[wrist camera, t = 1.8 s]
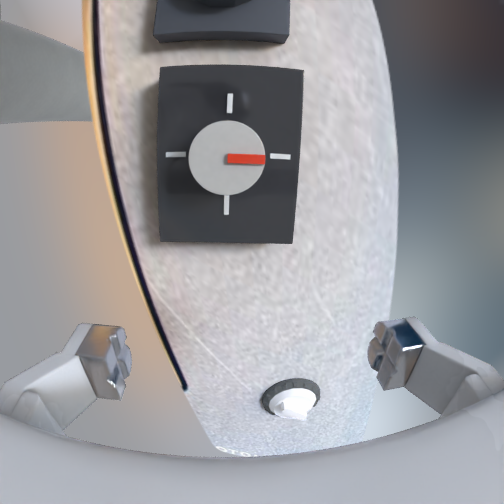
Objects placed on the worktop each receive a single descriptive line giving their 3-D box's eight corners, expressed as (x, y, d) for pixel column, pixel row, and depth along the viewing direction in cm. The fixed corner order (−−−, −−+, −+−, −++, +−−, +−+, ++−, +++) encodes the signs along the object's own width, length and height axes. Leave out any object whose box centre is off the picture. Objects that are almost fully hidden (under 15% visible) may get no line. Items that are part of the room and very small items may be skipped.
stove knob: (291, 419, 35) (294, 435, 33) (250, 402, 33) (251, 420, 31) (331, 390, 34) (336, 407, 31) (291, 370, 31) (296, 388, 29)
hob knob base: (167, 229, 24) (159, 242, 21) (168, 74, 19) (159, 66, 16) (285, 231, 25) (292, 245, 22) (295, 77, 20) (304, 69, 17)
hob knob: (195, 185, 20) (187, 196, 16) (196, 122, 18) (188, 120, 15) (258, 186, 20) (264, 197, 17) (261, 124, 19) (267, 121, 15)
